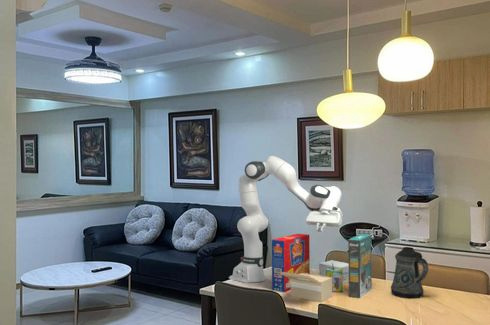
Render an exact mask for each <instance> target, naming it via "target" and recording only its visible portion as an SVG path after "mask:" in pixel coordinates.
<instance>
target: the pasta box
mask: <svg viewBox="0 0 490 325" xmlns="http://www.w3.org/2000/svg"><path fill="white" fill-rule="evenodd" d="M310 254H311V253H310V234H306V233H295V234H291V235H287V236H282V237H281V236H280V237H277V238H273V239H271V291H276V292H280V293H286V292H288V291H291V286H290V282H291V279H290V278H288V277H286V276H283V275H281V274H280V273H281V272H286V273H293V274H301V273H307V274H311V273H310V272H311V269H310V268H311V266H310V261H311V259H310Z"/></svg>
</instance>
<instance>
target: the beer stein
mask: <svg viewBox="0 0 490 325" xmlns="http://www.w3.org/2000/svg"><path fill="white" fill-rule="evenodd" d="M394 257H395V260H396V262H395V270H394V275H393V280H392V283H391V286H390V291H391V294H392V296H394V297H397V298H400V299H401V298H402V299H408V300H409V299H420V298H422V297H423V295H424V292H425V291H424V288H423V285H422V281H423V280H424V279H425V278H426V277H427V275H428V273H429V264H428V261H427V260H426V258H423V255H422V253H421V252H420V251H419V252H418V251H416V250H415V249H414V247H410V246H404V247H403V248H402V249H401V250H400V251H398V252H397V253H395V255H394ZM419 265H421V267H422V272H420V267H419Z"/></svg>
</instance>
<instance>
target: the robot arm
mask: <svg viewBox="0 0 490 325" xmlns="http://www.w3.org/2000/svg"><path fill="white" fill-rule="evenodd" d="M269 175H272V176H273V177H274V178H276V179H277V180H279V181H280V182H281V183H282V185H284V186H285V187H286V189H287V190H288V191H289V192H291V193H292V195H294V196H295V197H297V199H299V200H300V201H301V202H302V203H303V204H304V206H306V208H307V209H308V210H309V211H310V212H309V213H308V215H307V217H306V218H305V221H306V224H307V225H309V226H316V227H317V228H316V231H317V232H320V233H321V232H322V233H323V232H324V230H325V229H326V228H327V227H331V228H340V227H341V226H342V223H343V217H344V214H343V212H342V210H341V208H339V206H340V203H341V200H342V191H341V189H340V188H339V187H338V186H333V185H332V186H324V185H321V184H315V185H312V186H311V187H310V190H309V192H308V191H307V190H306V189H304V188H303V187H302V185H300V183H299V182H298V178H297V171H296V169H295V167H293V166H292V165H291V164H290V163H288V162H286V161H285V159H282V158H280V157H277V156H276V155H270V156H268V157H267V158H266V159H265V160H264V161H263V160H262V161H260V160H256V161H255V160H254V161H253V160H252V161H250V162H248V163H246V164H245V166H244V174H242V175H241V176H240V177H239V178H238V192H239V193H238V194H239V199H240V205H241V208H242V209H243V210H244V212H245V214H246V216H243V217H242V218H240V219H239V220H238V222H237V224H236V226H237V230H238V232H239V233H240V234H241V236H242V241H243V250H244V252H243V253H244V255H242V257H240V260H241V262H240V263H238V265H236V266H235V267H234V268H233V271H232V275H230V276H228V279H230V280H234V281H237V282H240V283H244V284H245V283H260V282H265V281H266V278H265V277H266V276H265V273H264V256H263V241H261V240H260V236H259V233H261V232H263V231H264V230H265V229H267V228H268V227H269V219H268V217H267V216H266V215H265V214H264V212H263V209H262V207H261V204H260V200H259V193H258V188H257V187H258V186H257V185H258V184H257V183H258V182H260V181H262V180H264V179H266V178H267V177H268V176H269Z"/></svg>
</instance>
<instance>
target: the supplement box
mask: <svg viewBox="0 0 490 325" xmlns="http://www.w3.org/2000/svg"><path fill="white" fill-rule="evenodd" d="M332 263H333V266H334V268H342V279H343V283H345V282H349V262H348V263H347V262H343V261H337V260H333V259H331V260H327V261H322V262H319V263H318V266H319V268H318V269H319V270H318V273H319V274H318V275H321V276H326V268H333V266H332Z"/></svg>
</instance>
